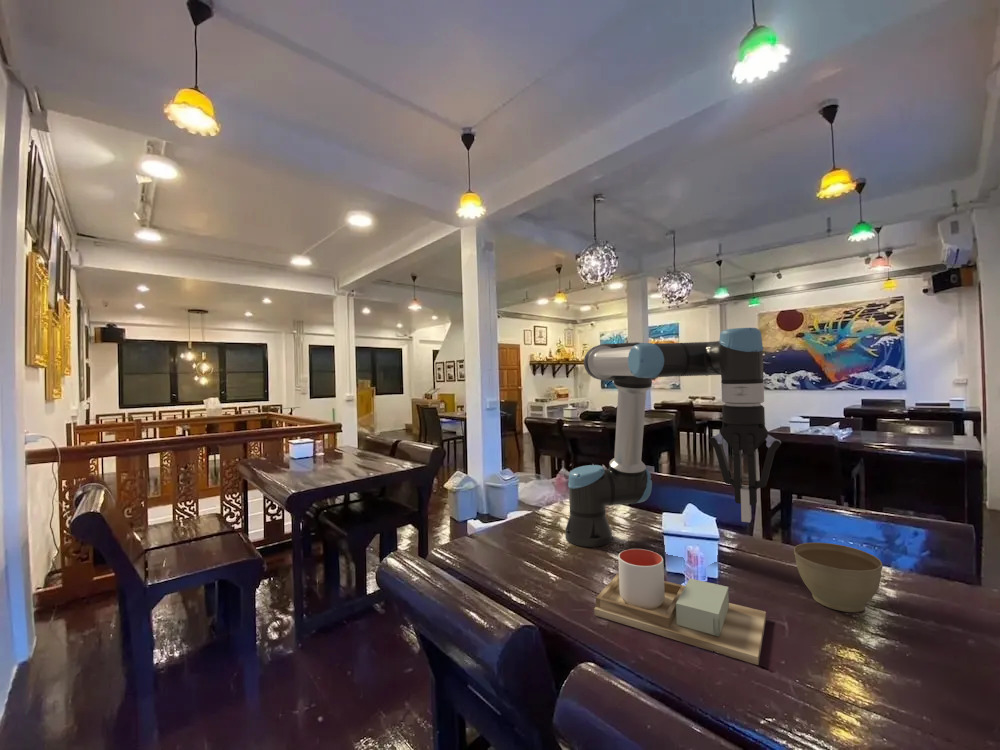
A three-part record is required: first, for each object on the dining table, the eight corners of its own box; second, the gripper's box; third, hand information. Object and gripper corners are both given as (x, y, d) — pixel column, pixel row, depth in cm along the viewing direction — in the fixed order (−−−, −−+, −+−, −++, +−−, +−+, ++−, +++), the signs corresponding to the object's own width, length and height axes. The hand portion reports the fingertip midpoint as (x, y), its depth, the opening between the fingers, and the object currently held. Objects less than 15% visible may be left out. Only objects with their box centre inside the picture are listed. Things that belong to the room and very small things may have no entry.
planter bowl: (863, 589, 105) (862, 544, 105) (900, 627, 90) (898, 574, 90) (786, 581, 111) (785, 539, 111) (808, 615, 95) (806, 566, 95)
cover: (690, 597, 101) (689, 578, 101) (729, 606, 97) (728, 586, 97) (676, 624, 91) (675, 603, 91) (719, 636, 86) (718, 614, 86)
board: (622, 582, 113) (621, 565, 113) (766, 618, 95) (765, 597, 95) (594, 615, 99) (593, 595, 99) (758, 665, 80) (757, 640, 80)
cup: (668, 613, 96) (666, 567, 96) (621, 610, 98) (619, 565, 98) (661, 590, 105) (659, 549, 105) (618, 588, 107) (616, 547, 107)
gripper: (704, 405, 89) (708, 520, 90) (779, 406, 82) (783, 531, 82) (711, 402, 96) (714, 510, 96) (781, 403, 88) (785, 519, 88)
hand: (746, 519), depth 89 cm, fingers closed
